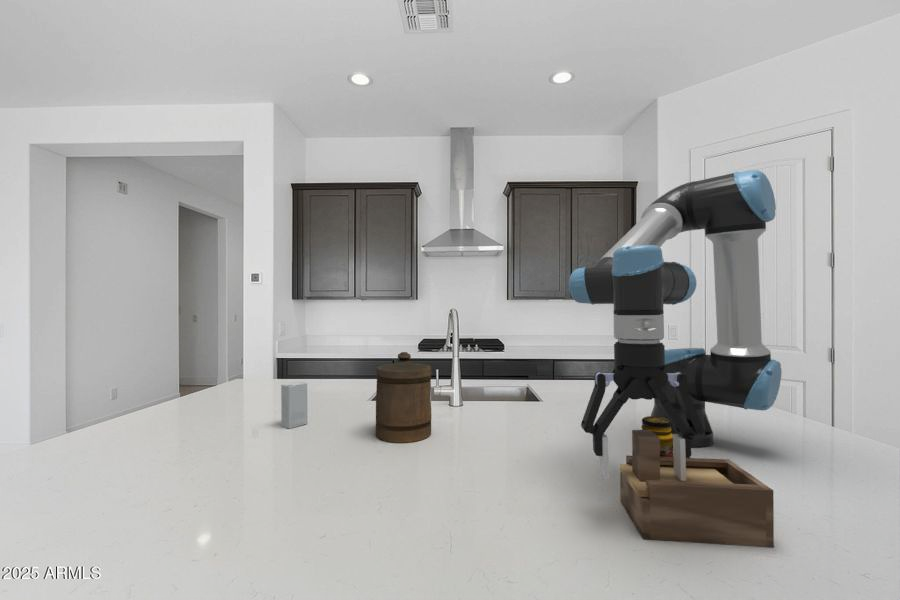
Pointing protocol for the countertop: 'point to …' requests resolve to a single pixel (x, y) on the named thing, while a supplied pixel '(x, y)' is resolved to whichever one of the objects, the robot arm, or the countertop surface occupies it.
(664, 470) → the cover plate
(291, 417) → the skincare box
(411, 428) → the wooden container
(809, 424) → the countertop surface
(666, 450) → the condiment
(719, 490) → the walnut box
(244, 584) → the countertop surface
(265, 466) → the countertop surface
